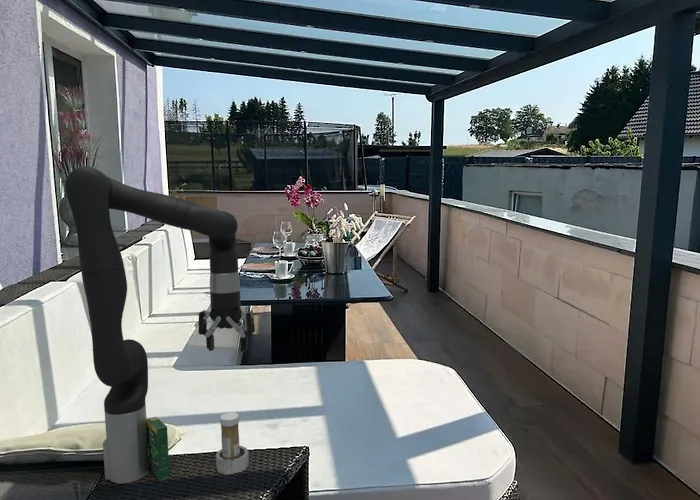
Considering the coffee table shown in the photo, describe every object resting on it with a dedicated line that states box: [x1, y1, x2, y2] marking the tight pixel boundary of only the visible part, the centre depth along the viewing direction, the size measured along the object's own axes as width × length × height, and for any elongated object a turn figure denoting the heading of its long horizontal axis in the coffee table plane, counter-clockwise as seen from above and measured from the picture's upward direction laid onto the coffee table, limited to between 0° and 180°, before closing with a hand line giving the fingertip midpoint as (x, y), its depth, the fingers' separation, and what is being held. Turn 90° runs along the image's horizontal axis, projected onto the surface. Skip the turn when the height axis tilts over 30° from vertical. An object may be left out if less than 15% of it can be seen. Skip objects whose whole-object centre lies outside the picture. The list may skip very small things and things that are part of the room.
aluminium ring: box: [215, 445, 250, 476], centre depth 130 cm, size 8×8×4 cm
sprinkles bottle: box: [219, 411, 241, 460], centre depth 129 cm, size 5×5×13 cm
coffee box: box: [146, 416, 171, 482], centre depth 127 cm, size 8×3×13 cm, turn 38°
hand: (227, 350), depth 134 cm, fingers open, 8 cm apart
